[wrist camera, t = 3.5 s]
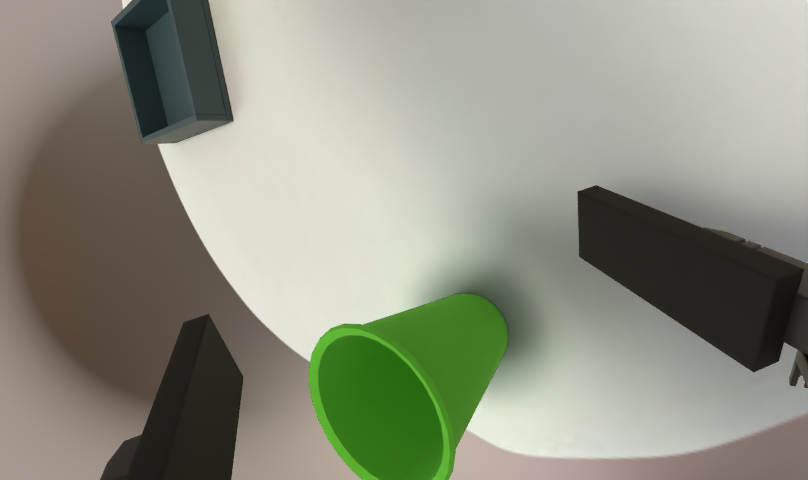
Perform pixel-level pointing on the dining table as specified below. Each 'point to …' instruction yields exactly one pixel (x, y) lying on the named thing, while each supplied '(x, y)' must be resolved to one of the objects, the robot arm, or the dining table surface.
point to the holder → (171, 68)
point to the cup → (406, 385)
